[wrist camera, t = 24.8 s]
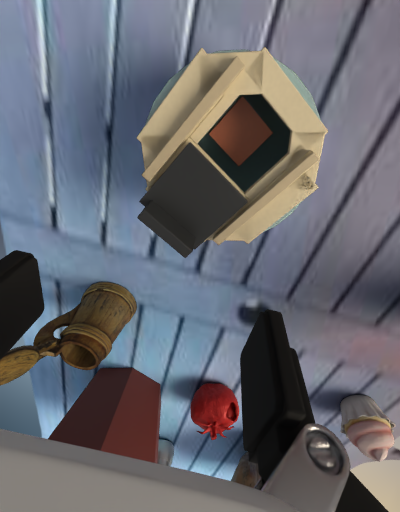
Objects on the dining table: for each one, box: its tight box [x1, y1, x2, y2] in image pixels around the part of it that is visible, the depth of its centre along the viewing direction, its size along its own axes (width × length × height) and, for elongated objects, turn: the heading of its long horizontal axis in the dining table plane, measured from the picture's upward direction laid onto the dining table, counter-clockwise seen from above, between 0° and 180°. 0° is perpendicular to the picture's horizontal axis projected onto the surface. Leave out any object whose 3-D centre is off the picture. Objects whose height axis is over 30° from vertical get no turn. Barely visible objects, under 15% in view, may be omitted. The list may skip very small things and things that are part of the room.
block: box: [209, 96, 273, 166], centre depth 26 cm, size 4×4×5 cm
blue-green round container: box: [145, 49, 322, 232], centre depth 25 cm, size 14×14×10 cm
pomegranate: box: [191, 383, 239, 440], centre depth 51 cm, size 10×10×9 cm
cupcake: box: [340, 395, 396, 462], centre depth 47 cm, size 9×9×10 cm
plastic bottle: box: [157, 439, 174, 467], centre depth 61 cm, size 6×7×20 cm
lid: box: [137, 47, 328, 245], centre depth 20 cm, size 13×13×2 cm
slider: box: [137, 142, 248, 258], centre depth 21 cm, size 7×7×3 cm
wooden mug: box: [0, 282, 137, 385], centre depth 36 cm, size 9×14×18 cm, turn 70°
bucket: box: [48, 368, 161, 463], centre depth 47 cm, size 24×22×25 cm
